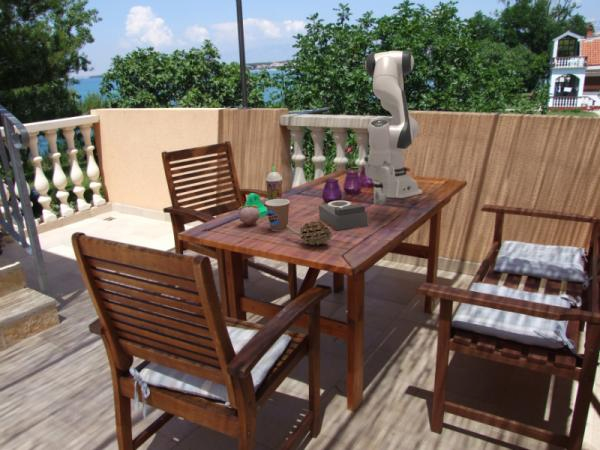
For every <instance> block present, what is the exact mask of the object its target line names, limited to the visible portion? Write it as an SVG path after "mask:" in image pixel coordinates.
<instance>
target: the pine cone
mask: <svg viewBox="0 0 600 450" xmlns="http://www.w3.org/2000/svg"><path fill="white" fill-rule="evenodd" d="M329 226H330V225H328V226H327V225H326V224H325V222H324V221H323V222H322V220H320V219H316V220H312V221H310V222H305V223H304V224H303V226H301V227H300V230H299V231H297V230H296V229H293V228H292V227H291V226H290V225H289V224H288V225H287V226H286V227H287V229H286V230H288V231H290V232H291V233H292V234H294V235H296V236H300V239H301V240H302V241H303V243H304V244H306V245H307V244H308V245H313V246H315V244H316V245H317V246H319V245H321V244H324V245H325V244H327V243H328V241H330V240H331V239H332V238H333V231H332V230H331V229H330V227H329Z"/></svg>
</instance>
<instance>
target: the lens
mask: <svg viewBox="0 0 600 450" xmlns="http://www.w3.org/2000/svg"><path fill="white" fill-rule="evenodd" d="M372 185H373V186H372V187H373V204H375V205H386V204H387V201H388V200H387V198H388V197H387V193H385V194H384V193H382V192H381V189H382V188H383V186H382V183H380V182H378V181H376V180H374V182H372Z"/></svg>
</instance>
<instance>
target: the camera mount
mask: <svg viewBox="0 0 600 450" xmlns="http://www.w3.org/2000/svg"><path fill="white" fill-rule="evenodd" d="M247 203H248V204H247ZM247 205H257V206H258V207H259V208H258V207H256V208H257V209H258V211H259V218H263V217H267V216H268V212H267V207H266V205H264V204H263V202H262V200H261V198H260V195H259V194H257V193H254V192H251V193H249V194H248V196H247V199H246V201H245V203H244V206H247ZM259 218H258V219H259Z"/></svg>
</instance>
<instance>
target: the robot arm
mask: <svg viewBox="0 0 600 450" xmlns="http://www.w3.org/2000/svg"><path fill="white" fill-rule="evenodd" d="M414 60H415V59H414V56H413V53H412V52H411V51H409V50H389V51H383V52H374V53H370V54H368V55H367V56H366V59H365V63H364V67H365V68H364V69H365V72H366V74H367V75H368V76H369V77H373V78H372V91H373V92H372V93H373V94H374V95H375V97H376V98H377V99H378V100H380V106H381V107H382V108H383V109H384V110H386V111H388V112H389V114H390V115H391V117H377V118H376V117H375V118H372V119H371V120H370V121H369V123H368V125H367V144H368V145H369V151H368V155H366V156H365V155H364V156H363V157H364V160H363V161H364V172H365V176H366V178H369V179H371V182H372V183H373V182H374V180H376V181H378V182H380V183H382V186H383V188H382V189H381V192H382V193H384V194H385V193H387V198H393V199H394V198H396V199H404V198H409V197H413V196H417V195H422V194H423V190H422V189H420V188H419V184H418V182H417V180H416V179H415V178H413V177H412V176H410V175H409V174H408V173H410V172H411V168H410V167H406V166H404V165H405V163H404V162H405V158H404V157H405V154H404V151H403V150H406V149H408V148H409V147H410V146H411V145H412V144H413V141H414V139H415V138H416V137H417V136H418V134H419V131H420V127H419V123H418V122H417V120H416V119H415V118H414V117H412V115H410V113H409V106H408V102H407V96H406V93H405V89H404V85H405V84H404V77H406V76H407V75H408V74H409V75H410V73H411V72H412V71H413V68H414V63H415V61H414Z"/></svg>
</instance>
